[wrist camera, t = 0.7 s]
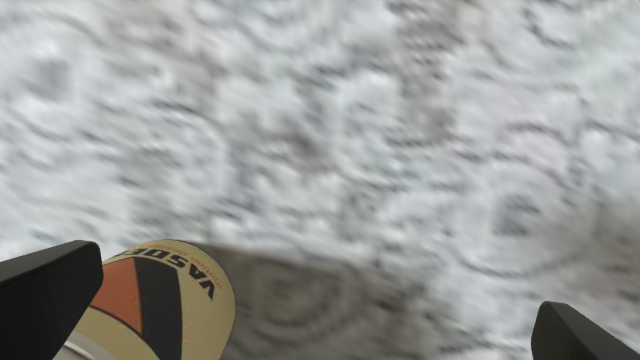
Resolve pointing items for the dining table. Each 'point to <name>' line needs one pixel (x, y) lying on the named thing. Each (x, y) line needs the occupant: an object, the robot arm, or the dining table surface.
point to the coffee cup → (156, 307)
